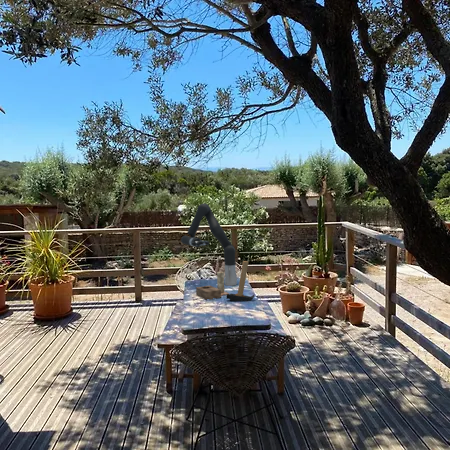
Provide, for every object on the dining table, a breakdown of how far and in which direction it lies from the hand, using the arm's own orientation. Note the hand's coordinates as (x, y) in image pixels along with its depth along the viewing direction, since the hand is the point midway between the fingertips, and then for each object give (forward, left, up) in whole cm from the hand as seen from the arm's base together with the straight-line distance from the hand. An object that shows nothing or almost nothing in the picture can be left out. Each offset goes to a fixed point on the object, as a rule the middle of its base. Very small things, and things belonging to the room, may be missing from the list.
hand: (203, 244), depth 343 cm
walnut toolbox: (+6, +18, -38) cm, 42 cm away
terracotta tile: (-6, +16, -38) cm, 42 cm away
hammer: (-8, +42, -38) cm, 57 cm away
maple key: (-6, +16, -37) cm, 41 cm away
